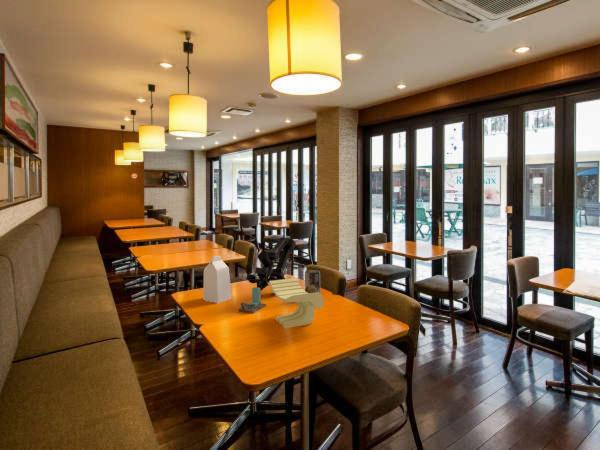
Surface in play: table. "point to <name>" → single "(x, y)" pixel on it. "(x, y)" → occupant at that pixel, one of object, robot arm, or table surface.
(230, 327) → the table surface
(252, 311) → the bracket
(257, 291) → the teal block
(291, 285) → the slatted curved stool
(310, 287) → the coffee box
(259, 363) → the table surface
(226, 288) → the milk
